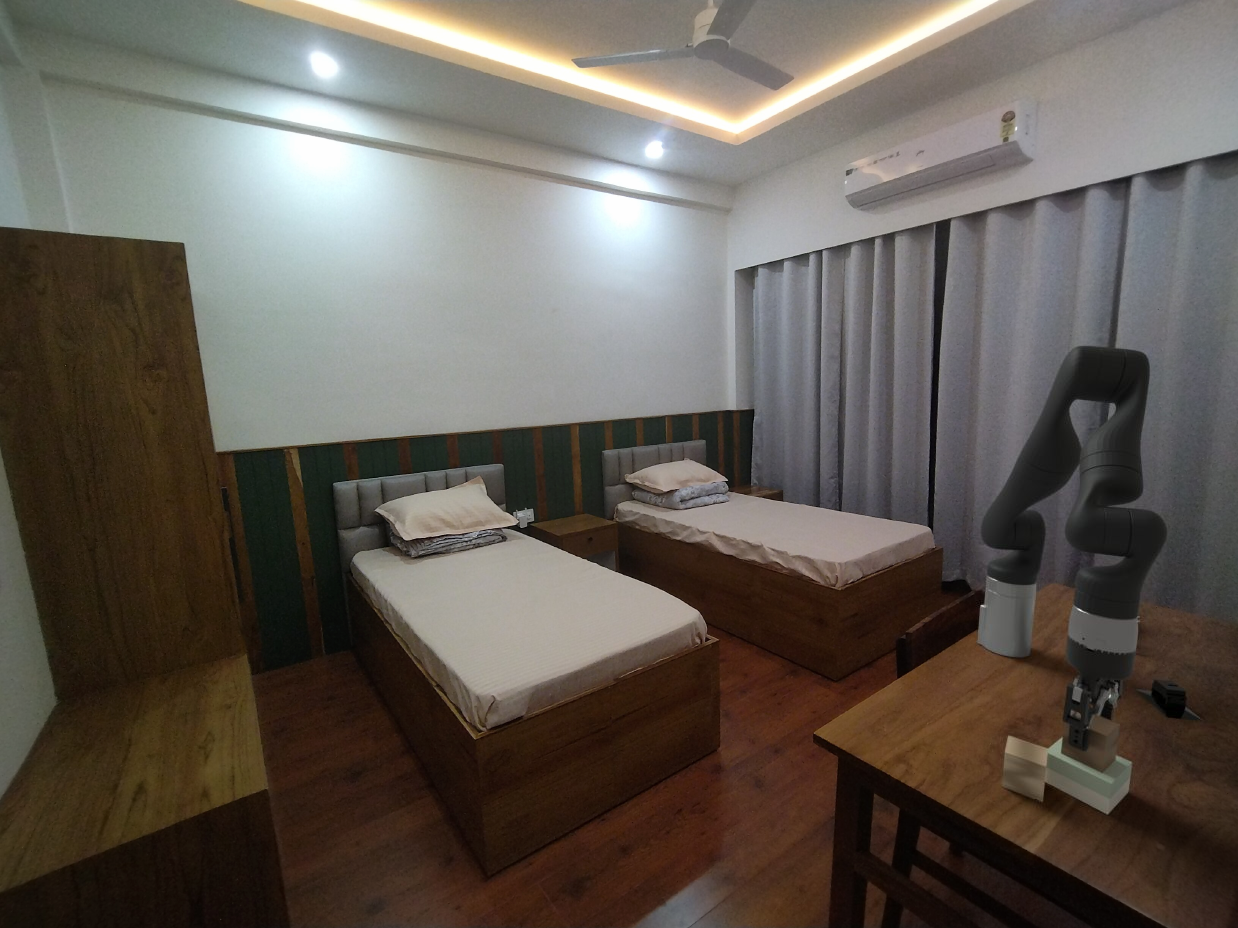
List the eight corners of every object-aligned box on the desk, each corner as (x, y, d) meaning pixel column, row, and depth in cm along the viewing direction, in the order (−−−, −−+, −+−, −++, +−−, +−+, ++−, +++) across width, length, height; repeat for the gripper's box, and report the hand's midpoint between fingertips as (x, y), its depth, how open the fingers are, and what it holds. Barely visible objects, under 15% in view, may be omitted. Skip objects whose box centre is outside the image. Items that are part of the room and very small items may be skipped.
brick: (1001, 786, 82) (1004, 751, 81) (1005, 768, 86) (1008, 735, 85) (1042, 802, 79) (1046, 766, 78) (1044, 782, 83) (1048, 748, 82)
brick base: (1041, 779, 83) (1044, 751, 82) (1064, 760, 87) (1067, 733, 86) (1107, 814, 76) (1111, 783, 76) (1128, 791, 80) (1132, 762, 80)
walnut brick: (1060, 753, 82) (1064, 717, 81) (1074, 741, 84) (1078, 707, 84) (1102, 772, 78) (1106, 735, 77) (1115, 759, 80) (1119, 723, 79)
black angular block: (1216, 730, 94) (1220, 707, 93) (1165, 724, 96) (1168, 701, 95) (1166, 691, 106) (1169, 669, 105) (1122, 686, 108) (1124, 665, 107)
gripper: (1088, 617, 85) (1078, 709, 87) (1048, 640, 78) (1038, 740, 80) (1152, 635, 78) (1139, 734, 81) (1115, 663, 71) (1102, 770, 74)
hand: (1089, 737), depth 81 cm, fingers open, 8 cm apart
